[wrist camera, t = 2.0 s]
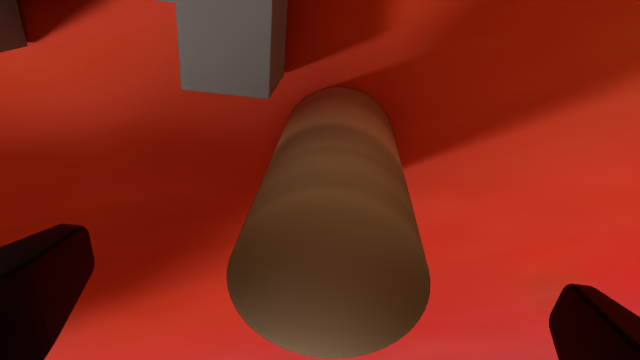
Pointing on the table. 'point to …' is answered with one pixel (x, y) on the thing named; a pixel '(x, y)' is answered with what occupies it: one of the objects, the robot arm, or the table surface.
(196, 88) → the block
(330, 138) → the dowel
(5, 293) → the robot arm
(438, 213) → the table surface
